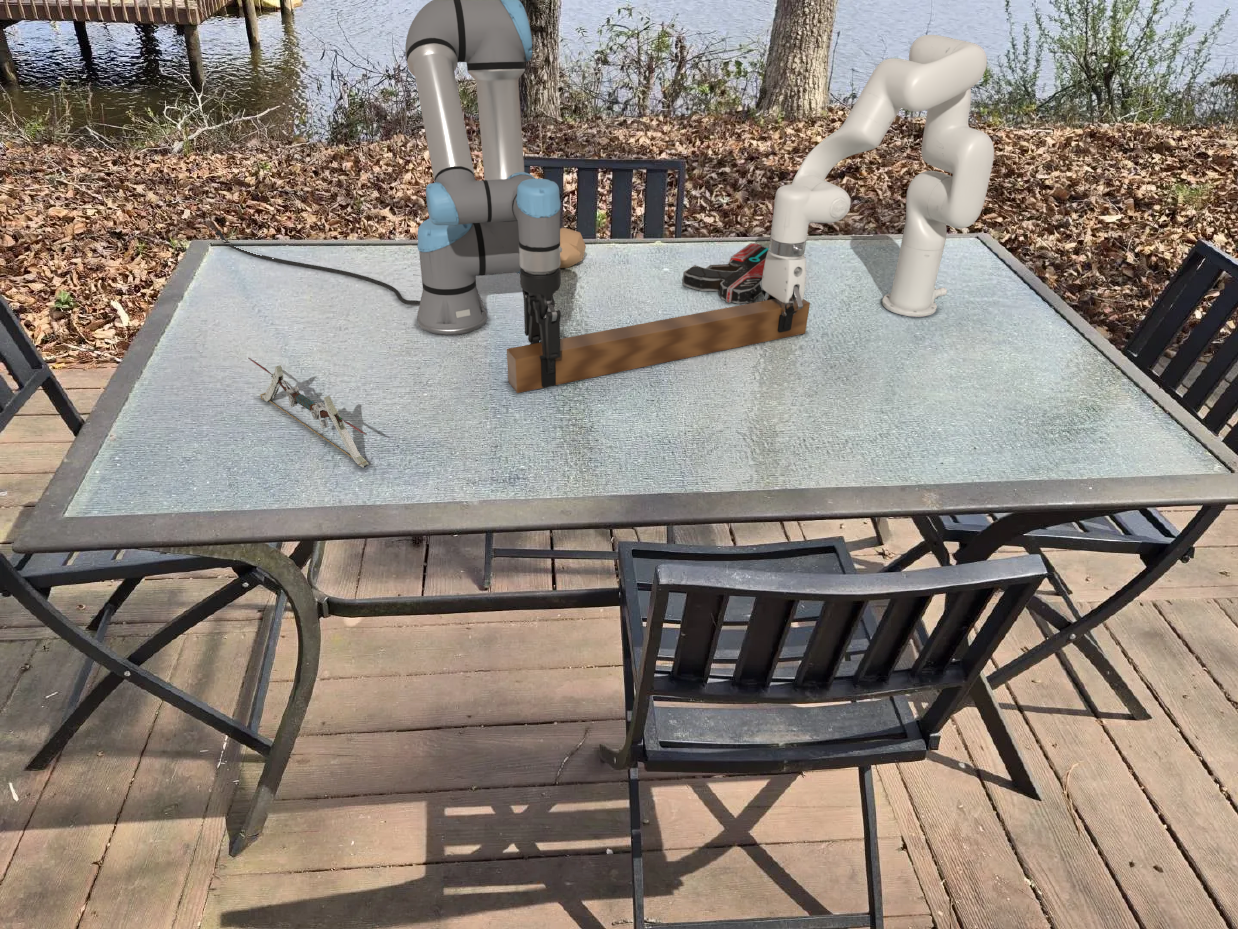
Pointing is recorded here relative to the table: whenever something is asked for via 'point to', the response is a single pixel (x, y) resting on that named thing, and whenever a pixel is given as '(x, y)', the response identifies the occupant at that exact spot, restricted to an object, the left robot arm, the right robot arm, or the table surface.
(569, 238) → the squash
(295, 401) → the bow
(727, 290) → the gun
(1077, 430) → the table surface
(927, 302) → the right robot arm
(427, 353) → the table surface
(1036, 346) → the table surface
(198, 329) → the table surface
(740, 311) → the post
